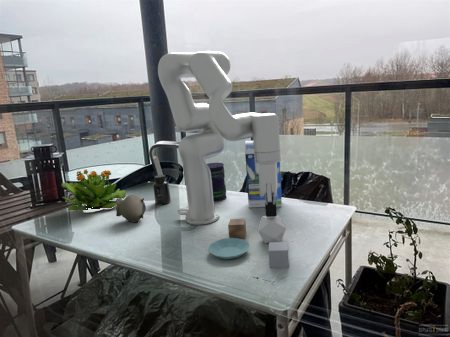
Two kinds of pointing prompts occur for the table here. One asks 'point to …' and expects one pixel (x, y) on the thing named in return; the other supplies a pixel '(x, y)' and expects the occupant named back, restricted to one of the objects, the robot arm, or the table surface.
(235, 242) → the saucer
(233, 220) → the walnut block
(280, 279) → the table surface
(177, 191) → the table surface
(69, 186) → the potted flower
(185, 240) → the table surface
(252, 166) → the string lights box
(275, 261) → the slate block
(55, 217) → the table surface
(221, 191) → the storage jar
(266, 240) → the die
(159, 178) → the supplement bottle
